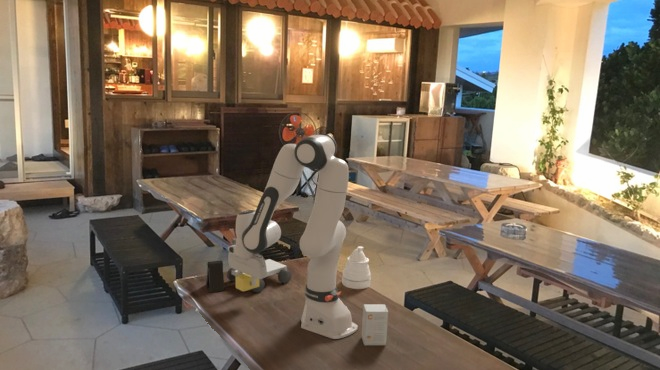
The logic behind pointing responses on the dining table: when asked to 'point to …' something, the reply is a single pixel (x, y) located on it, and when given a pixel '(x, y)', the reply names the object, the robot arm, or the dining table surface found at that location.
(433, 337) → the dining table surface
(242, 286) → the tall gold block
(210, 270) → the phone stand
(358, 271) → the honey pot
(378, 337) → the small box
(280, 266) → the flatbed trolley
